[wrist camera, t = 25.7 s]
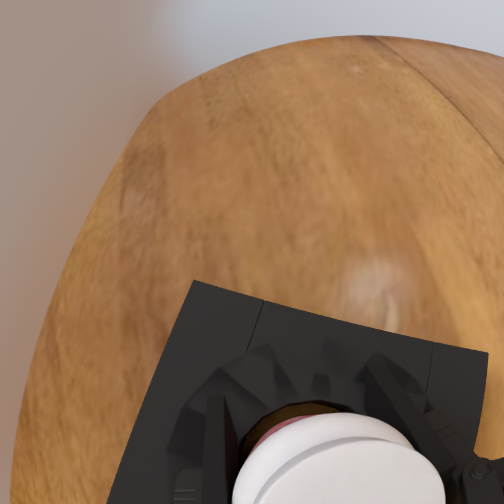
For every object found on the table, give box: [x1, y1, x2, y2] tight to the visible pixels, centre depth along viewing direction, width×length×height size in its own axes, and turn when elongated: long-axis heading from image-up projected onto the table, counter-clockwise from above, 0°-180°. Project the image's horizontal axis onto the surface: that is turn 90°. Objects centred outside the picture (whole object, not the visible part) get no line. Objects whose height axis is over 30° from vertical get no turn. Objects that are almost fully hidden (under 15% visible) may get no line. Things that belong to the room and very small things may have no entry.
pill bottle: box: [232, 413, 445, 504], centre depth 9 cm, size 6×6×11 cm
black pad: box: [106, 280, 488, 504], centre depth 13 cm, size 18×16×3 cm
